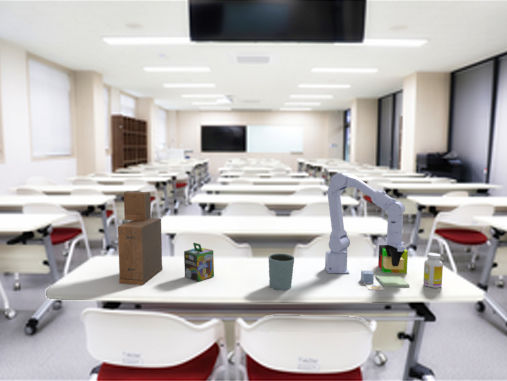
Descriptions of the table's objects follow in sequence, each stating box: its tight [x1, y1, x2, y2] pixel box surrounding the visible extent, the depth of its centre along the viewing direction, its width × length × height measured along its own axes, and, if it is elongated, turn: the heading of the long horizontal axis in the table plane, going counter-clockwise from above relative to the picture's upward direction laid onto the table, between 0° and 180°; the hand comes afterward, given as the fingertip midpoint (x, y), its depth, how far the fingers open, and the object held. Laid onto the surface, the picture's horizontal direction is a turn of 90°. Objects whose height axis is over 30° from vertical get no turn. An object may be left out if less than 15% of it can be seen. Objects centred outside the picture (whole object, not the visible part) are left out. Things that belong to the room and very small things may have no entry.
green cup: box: [268, 253, 295, 291], centre depth 147 cm, size 10×10×12 cm
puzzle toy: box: [377, 244, 409, 274], centre depth 169 cm, size 10×10×10 cm
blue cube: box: [360, 270, 375, 284], centre depth 154 cm, size 4×4×4 cm
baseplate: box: [375, 275, 410, 288], centre depth 153 cm, size 10×10×1 cm
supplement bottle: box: [423, 252, 444, 289], centre depth 149 cm, size 7×7×13 cm
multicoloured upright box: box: [183, 242, 215, 283], centre depth 157 cm, size 9×9×15 cm
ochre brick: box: [383, 257, 404, 269], centre depth 152 cm, size 7×4×4 cm, turn 88°
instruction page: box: [365, 284, 386, 291], centre depth 147 cm, size 6×5×1 cm
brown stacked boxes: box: [117, 191, 163, 286], centre depth 156 cm, size 19×14×35 cm
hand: (393, 264), depth 152 cm, fingers closed on ochre brick, 4 cm apart
